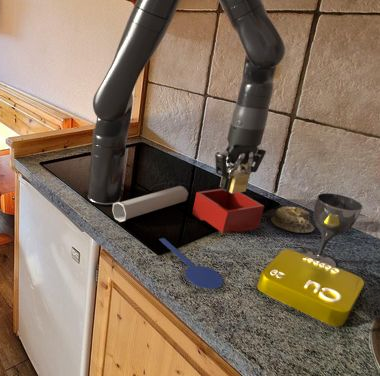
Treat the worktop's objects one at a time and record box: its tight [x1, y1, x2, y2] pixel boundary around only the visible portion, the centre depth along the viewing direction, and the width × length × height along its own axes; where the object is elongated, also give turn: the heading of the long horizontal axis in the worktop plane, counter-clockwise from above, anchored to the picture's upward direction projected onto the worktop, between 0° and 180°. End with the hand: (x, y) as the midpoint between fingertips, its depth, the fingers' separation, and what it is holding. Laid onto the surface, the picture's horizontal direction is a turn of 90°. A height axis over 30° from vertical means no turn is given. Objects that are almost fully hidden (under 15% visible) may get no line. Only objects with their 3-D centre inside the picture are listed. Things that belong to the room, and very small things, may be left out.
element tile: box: [256, 248, 365, 327], centre depth 80 cm, size 15×15×5 cm
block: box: [219, 168, 251, 193], centre depth 102 cm, size 4×4×4 cm
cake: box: [270, 206, 315, 234], centre depth 105 cm, size 10×10×5 cm
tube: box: [111, 185, 189, 223], centre depth 111 cm, size 5×5×25 cm
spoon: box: [158, 237, 224, 290], centre depth 89 cm, size 19×8×1 cm, turn 20°
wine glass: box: [300, 192, 363, 267], centre depth 89 cm, size 8×8×15 cm
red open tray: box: [191, 188, 265, 234], centre depth 106 cm, size 12×12×7 cm
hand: (232, 188), depth 103 cm, fingers closed on block, 4 cm apart
